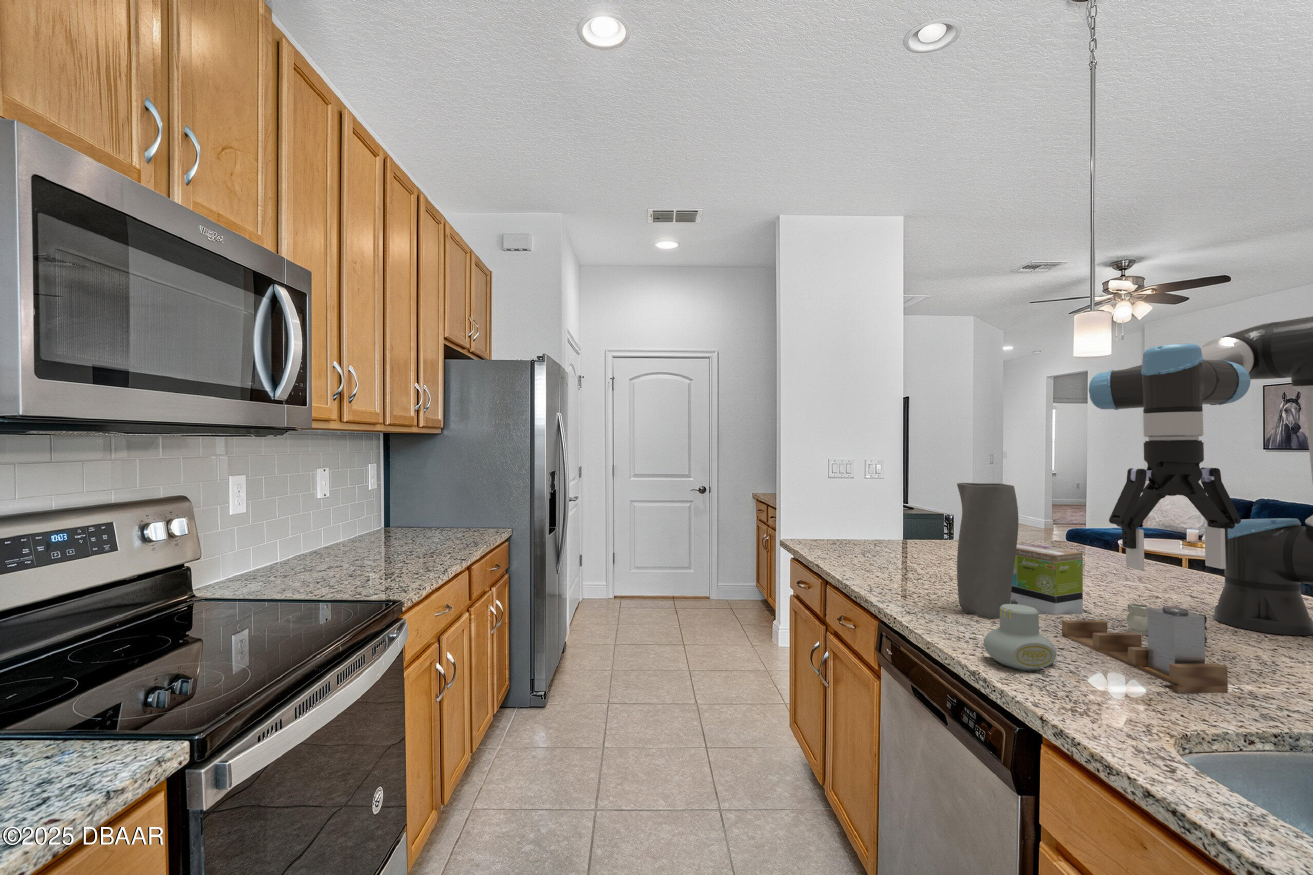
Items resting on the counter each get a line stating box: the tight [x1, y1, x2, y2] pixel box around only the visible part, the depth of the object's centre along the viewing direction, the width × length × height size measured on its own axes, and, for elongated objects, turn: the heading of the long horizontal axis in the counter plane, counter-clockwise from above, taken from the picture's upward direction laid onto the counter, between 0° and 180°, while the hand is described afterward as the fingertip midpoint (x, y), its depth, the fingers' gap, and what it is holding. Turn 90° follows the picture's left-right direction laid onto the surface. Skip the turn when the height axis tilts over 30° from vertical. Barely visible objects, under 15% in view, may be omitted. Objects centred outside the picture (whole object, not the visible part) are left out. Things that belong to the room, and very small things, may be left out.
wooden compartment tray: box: [1061, 619, 1229, 694], centre depth 106 cm, size 8×26×4 cm, turn 2°
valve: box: [1126, 602, 1208, 648], centre depth 119 cm, size 7×7×12 cm
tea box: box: [1010, 541, 1084, 616], centre depth 143 cm, size 15×10×15 cm
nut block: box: [1147, 605, 1206, 677], centre depth 99 cm, size 5×5×11 cm
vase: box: [956, 482, 1019, 620], centre depth 136 cm, size 12×12×30 cm
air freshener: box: [983, 604, 1057, 672], centre depth 106 cm, size 11×8×10 cm
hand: (1175, 568), depth 99 cm, fingers open, 13 cm apart
